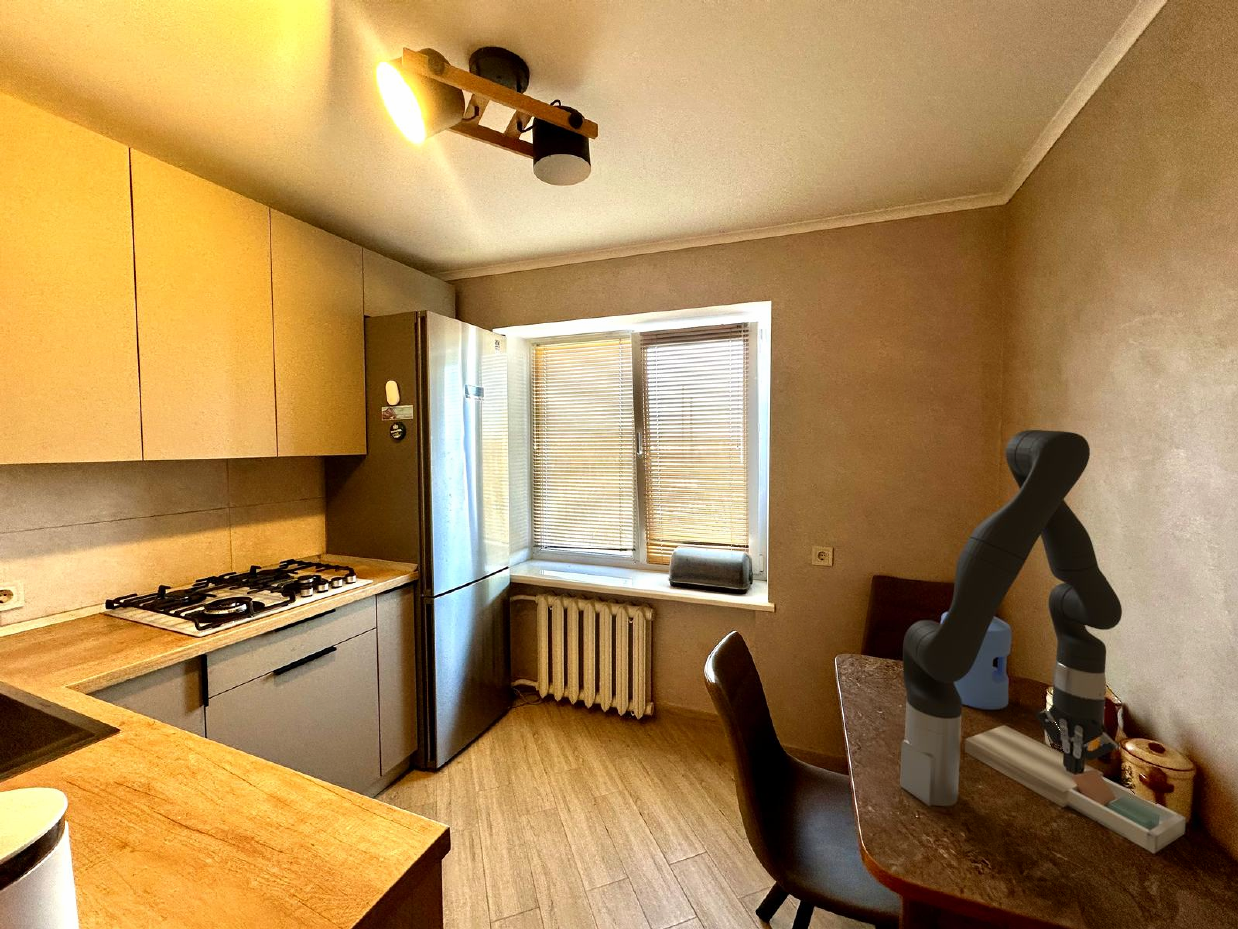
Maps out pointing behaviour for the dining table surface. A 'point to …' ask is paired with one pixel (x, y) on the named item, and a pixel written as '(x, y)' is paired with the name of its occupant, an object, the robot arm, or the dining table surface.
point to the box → (1149, 839)
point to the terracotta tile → (1094, 786)
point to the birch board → (1025, 762)
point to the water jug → (988, 670)
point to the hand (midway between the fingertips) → (1073, 772)
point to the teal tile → (1135, 813)
